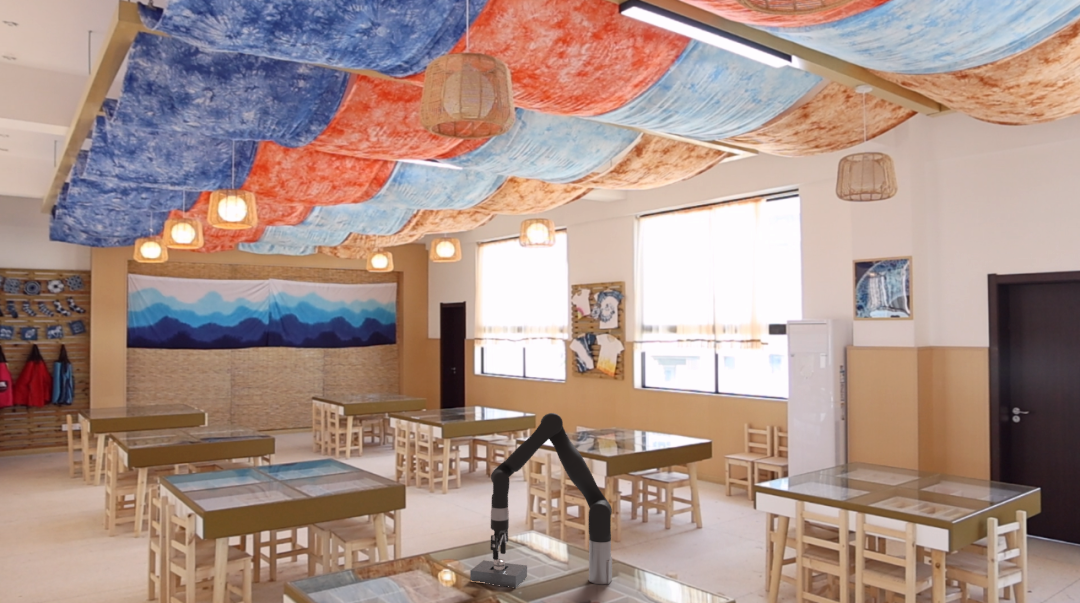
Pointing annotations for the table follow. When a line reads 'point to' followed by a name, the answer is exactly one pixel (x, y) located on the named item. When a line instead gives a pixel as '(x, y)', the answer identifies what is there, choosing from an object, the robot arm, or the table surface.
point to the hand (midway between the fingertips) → (499, 556)
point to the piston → (499, 564)
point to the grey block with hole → (499, 574)
